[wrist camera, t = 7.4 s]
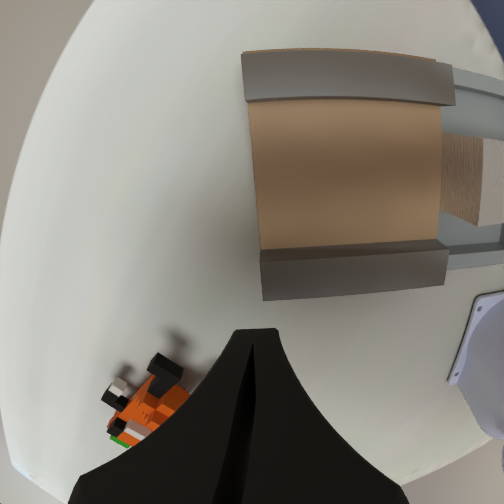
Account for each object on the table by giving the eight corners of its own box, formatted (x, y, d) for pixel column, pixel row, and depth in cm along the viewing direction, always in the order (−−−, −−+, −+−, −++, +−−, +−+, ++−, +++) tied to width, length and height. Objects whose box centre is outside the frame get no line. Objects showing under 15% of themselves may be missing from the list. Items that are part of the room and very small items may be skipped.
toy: (241, 437, 17) (146, 484, 22) (247, 374, 23) (159, 439, 28) (128, 375, 15) (72, 444, 20) (158, 317, 21) (94, 401, 26)
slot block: (410, 258, 18) (442, 293, 14) (265, 269, 19) (263, 309, 15) (411, 67, 14) (450, 55, 10) (246, 64, 14) (239, 43, 10)
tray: (501, 250, 18) (515, 261, 16) (411, 258, 18) (424, 272, 16) (509, 89, 13) (526, 88, 11) (412, 67, 14) (427, 62, 12)
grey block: (484, 205, 14) (520, 220, 12) (439, 209, 14) (477, 227, 11) (487, 138, 13) (526, 145, 10) (441, 132, 12) (483, 138, 10)
